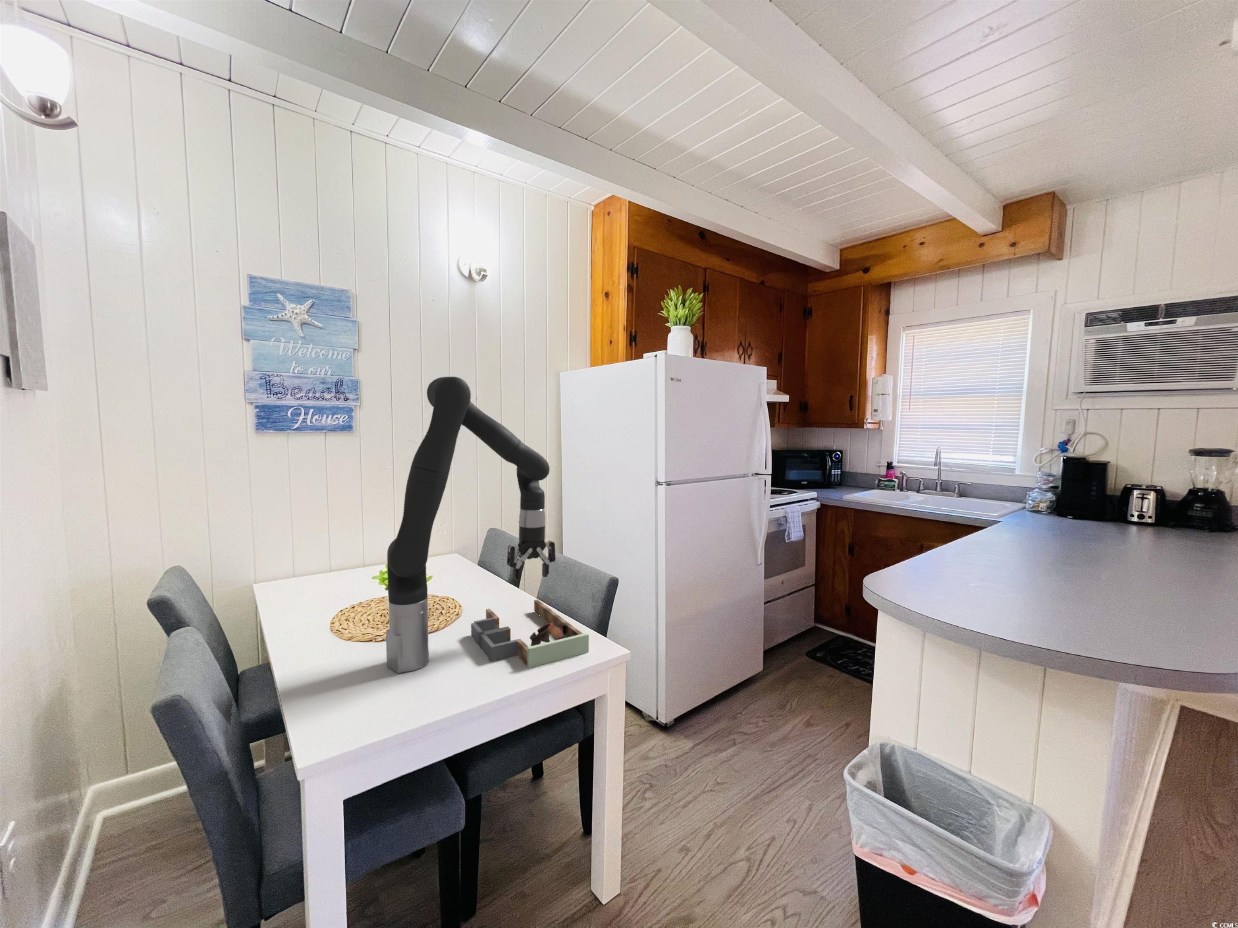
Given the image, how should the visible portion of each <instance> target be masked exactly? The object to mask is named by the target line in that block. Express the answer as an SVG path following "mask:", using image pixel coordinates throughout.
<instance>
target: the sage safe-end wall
mask: <svg viewBox="0 0 1238 928" xmlns="http://www.w3.org/2000/svg"><path fill="white" fill-rule="evenodd" d="M589 640H590V634H589V633H587V632H585V633H583V634H580V635H576V636H572V637H568V638H564V639H560V640H558V639H555V640H552V641H551V640H550V642H547V643H546V642H543V643H541V644H539V645H535V646H531V645H530V646H528V647H527V665H526V666H527V667H528V669H531V668H534V667H538V666H542V665H544V664H549V663H552V662H557V661H559V660H565V659H569V658H571V657H575V656H579V655H583V654H588V653H589V652H590V651H589V650H590V648H589V646H590V644H589V643H590V641H589ZM568 657H569V658H568Z"/></svg>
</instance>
